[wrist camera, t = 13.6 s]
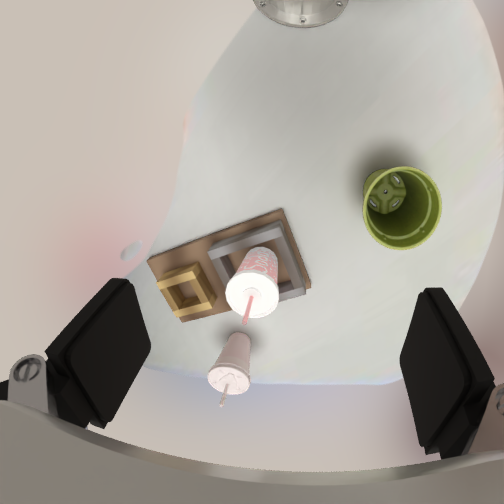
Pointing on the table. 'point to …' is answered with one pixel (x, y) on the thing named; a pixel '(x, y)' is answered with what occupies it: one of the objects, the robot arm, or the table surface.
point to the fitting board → (226, 266)
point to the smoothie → (232, 367)
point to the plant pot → (401, 207)
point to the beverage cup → (254, 285)
